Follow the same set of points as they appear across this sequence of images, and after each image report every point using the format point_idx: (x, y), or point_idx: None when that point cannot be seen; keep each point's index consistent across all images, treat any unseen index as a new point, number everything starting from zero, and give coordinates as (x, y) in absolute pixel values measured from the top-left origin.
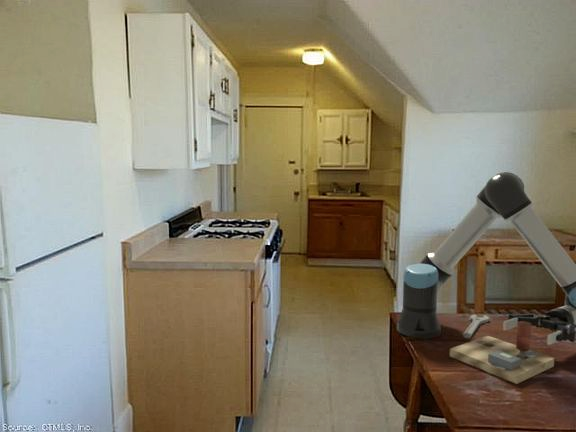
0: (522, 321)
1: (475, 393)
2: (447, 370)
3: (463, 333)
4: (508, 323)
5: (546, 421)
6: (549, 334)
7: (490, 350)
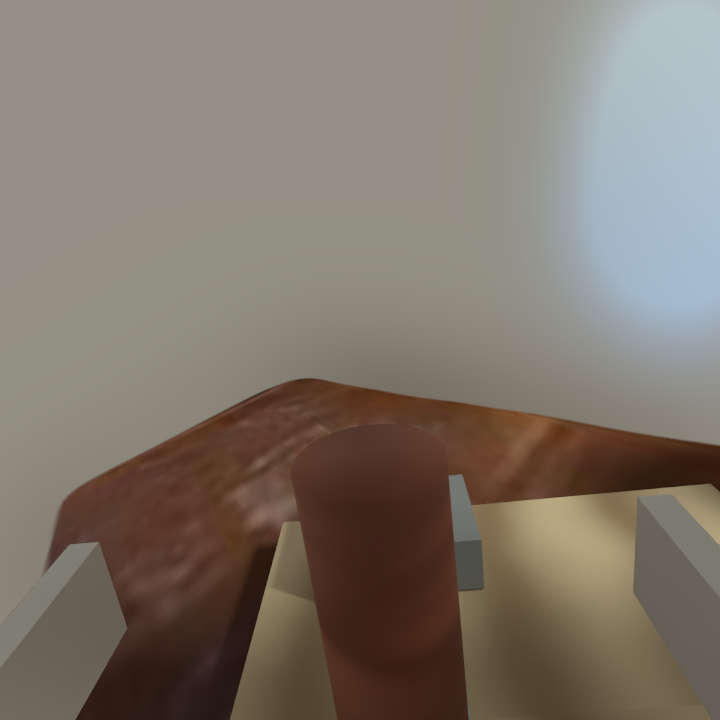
0: (420, 473)
1: None
2: (540, 454)
3: None
4: (671, 571)
5: (133, 472)
6: (77, 564)
7: (634, 648)
